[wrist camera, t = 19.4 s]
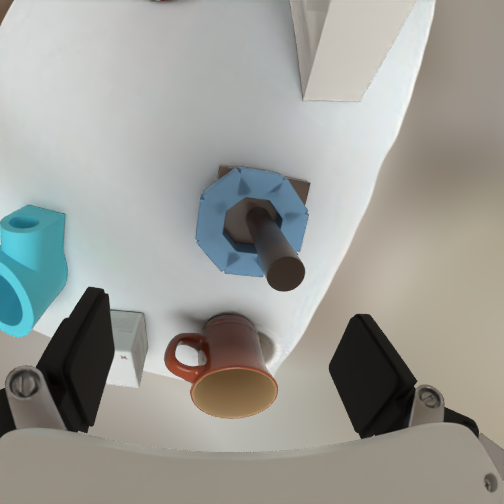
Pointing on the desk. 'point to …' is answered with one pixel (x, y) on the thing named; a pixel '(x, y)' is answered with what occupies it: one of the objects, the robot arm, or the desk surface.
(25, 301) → the cyan pipe fitting
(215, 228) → the ring
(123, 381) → the product box
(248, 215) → the peg stand
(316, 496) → the robot arm
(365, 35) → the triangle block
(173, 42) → the desk surface
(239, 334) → the mug
